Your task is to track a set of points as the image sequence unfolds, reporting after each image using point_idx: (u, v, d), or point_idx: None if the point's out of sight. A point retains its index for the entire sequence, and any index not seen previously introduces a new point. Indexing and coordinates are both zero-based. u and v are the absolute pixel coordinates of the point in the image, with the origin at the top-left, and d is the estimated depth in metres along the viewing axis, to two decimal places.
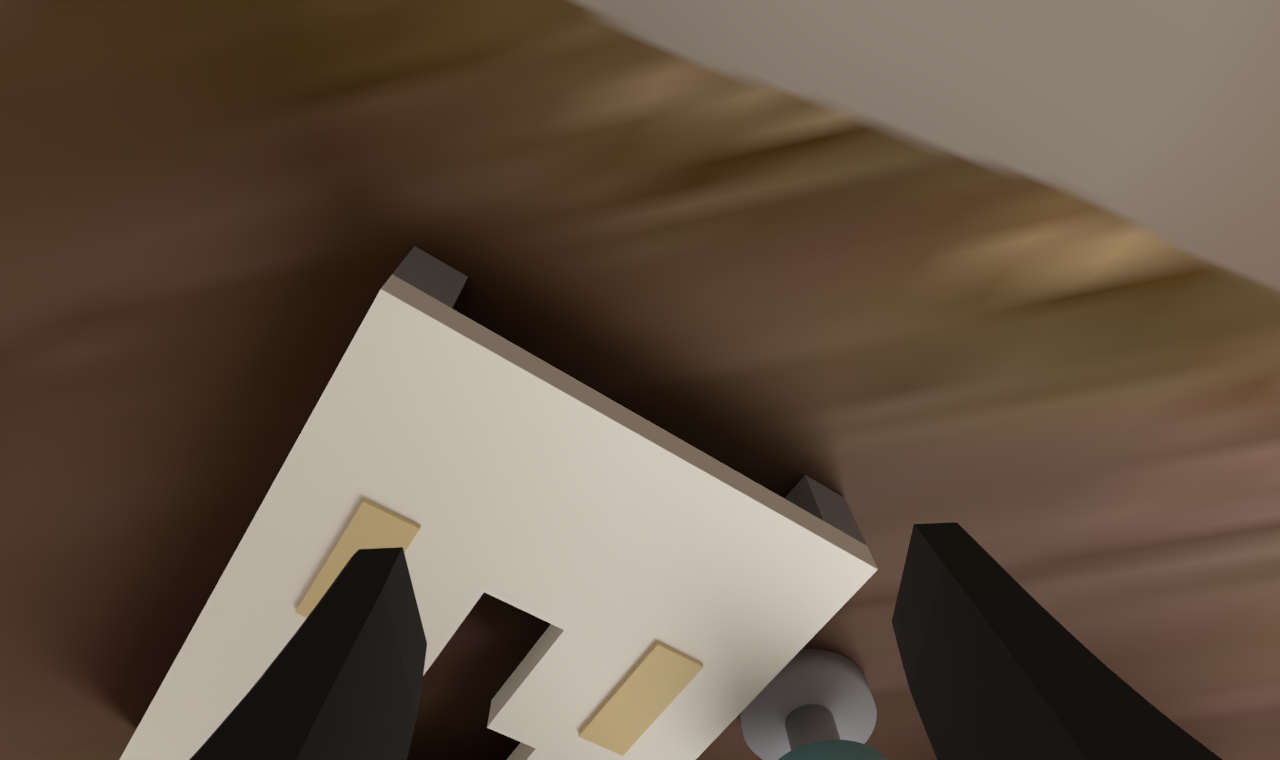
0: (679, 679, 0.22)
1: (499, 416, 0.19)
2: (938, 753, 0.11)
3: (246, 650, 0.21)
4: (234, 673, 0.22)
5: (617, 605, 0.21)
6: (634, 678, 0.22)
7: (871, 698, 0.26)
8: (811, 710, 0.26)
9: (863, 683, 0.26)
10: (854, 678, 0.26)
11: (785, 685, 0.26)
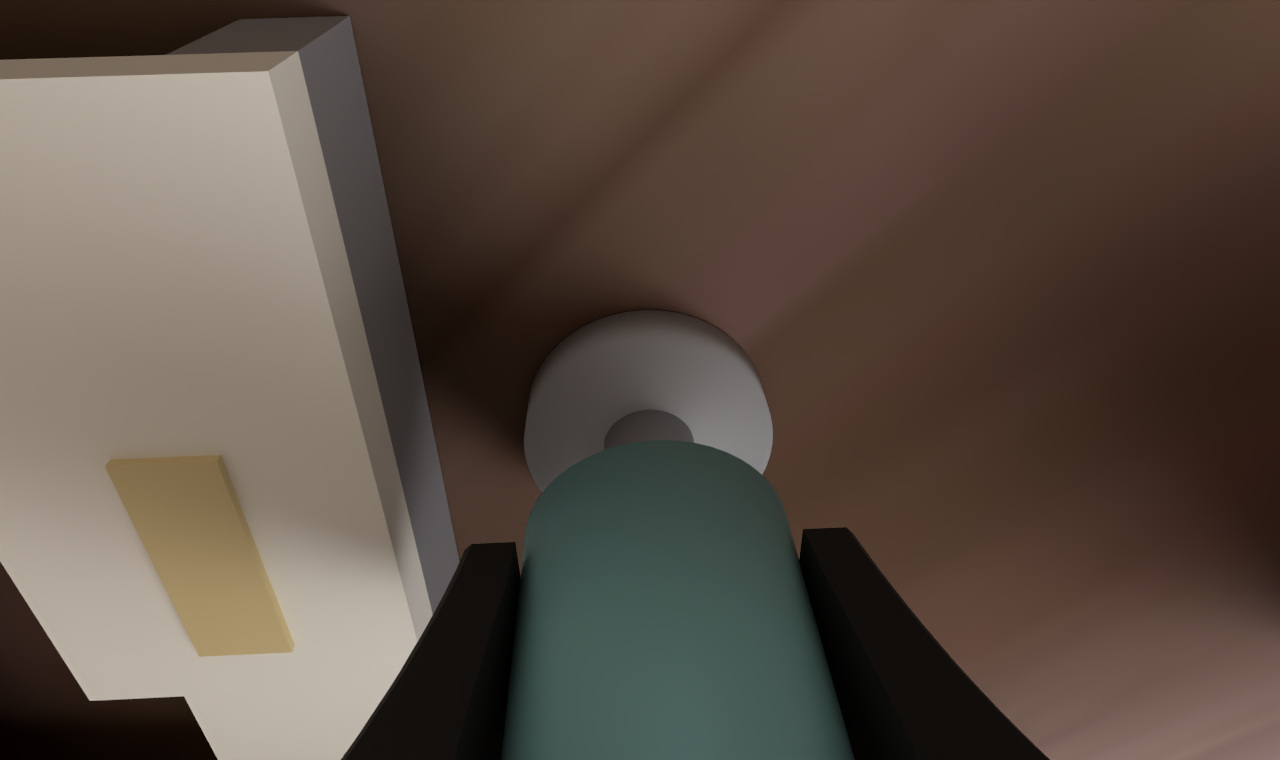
0: (212, 501, 0.11)
1: None
2: None
3: None
4: None
5: None
6: (151, 536, 0.12)
7: (711, 353, 0.13)
8: (620, 427, 0.14)
9: (683, 336, 0.13)
10: (653, 336, 0.13)
11: (550, 409, 0.14)
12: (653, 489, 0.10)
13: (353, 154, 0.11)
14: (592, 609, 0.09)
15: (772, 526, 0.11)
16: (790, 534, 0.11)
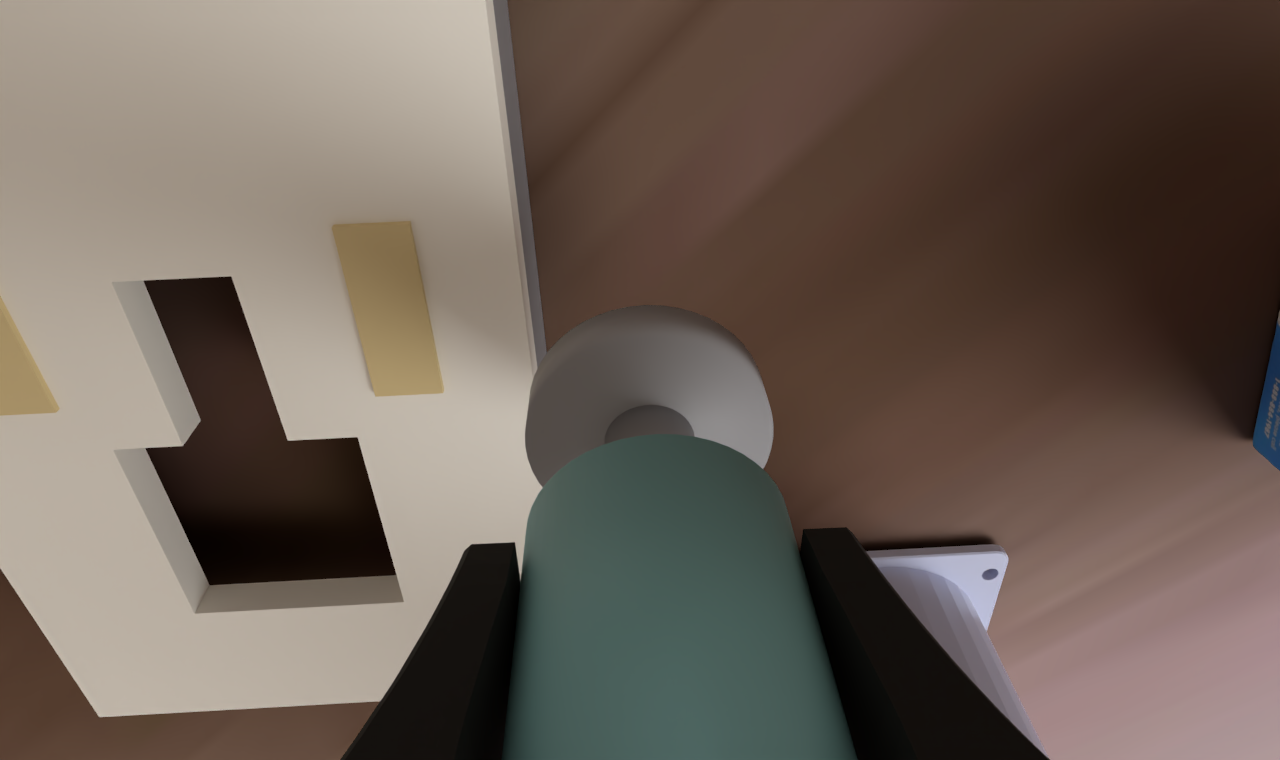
0: (402, 258, 0.16)
1: None
2: None
3: (8, 482, 0.19)
4: (28, 512, 0.20)
5: (246, 206, 0.16)
6: (355, 288, 0.16)
7: (712, 348, 0.13)
8: (621, 422, 0.14)
9: (684, 331, 0.13)
10: (654, 331, 0.13)
11: (551, 404, 0.14)
12: (654, 482, 0.10)
13: (501, 8, 0.16)
14: (593, 601, 0.09)
15: (773, 520, 0.11)
16: (791, 528, 0.11)
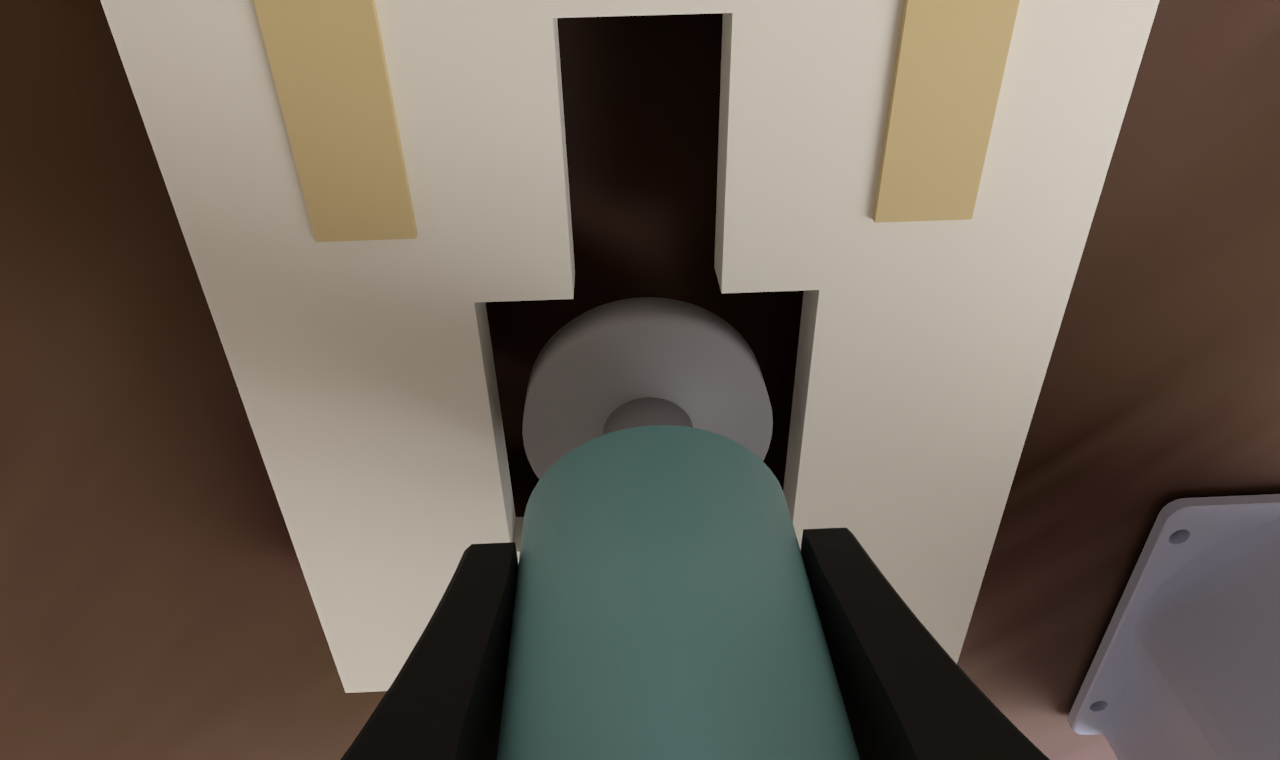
0: None
1: None
2: None
3: (314, 351, 0.13)
4: (330, 397, 0.14)
5: None
6: (913, 37, 0.11)
7: (718, 343, 0.13)
8: (621, 413, 0.14)
9: (690, 324, 0.13)
10: (661, 322, 0.13)
11: (552, 392, 0.14)
12: (662, 472, 0.10)
13: None
14: (600, 589, 0.09)
15: (778, 516, 0.11)
16: (793, 526, 0.11)
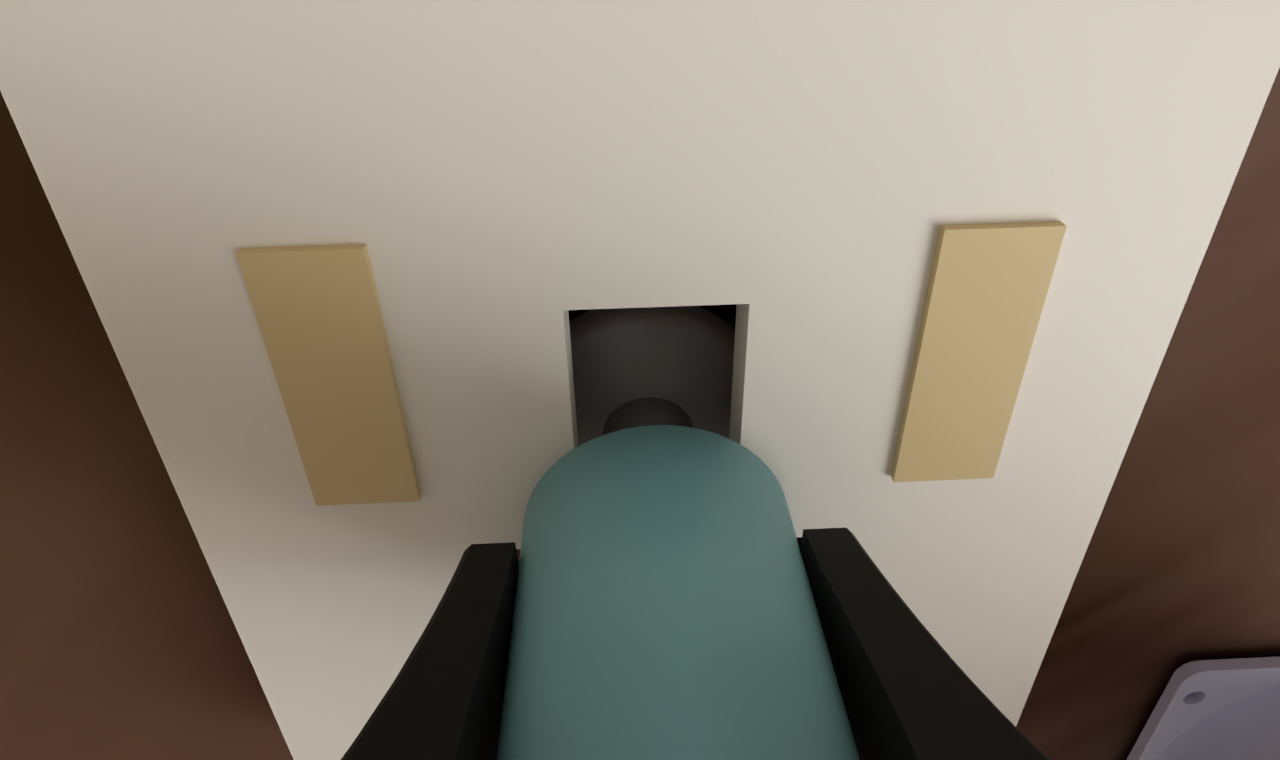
0: (1028, 280, 0.10)
1: None
2: None
3: (314, 594, 0.13)
4: (330, 632, 0.14)
5: (818, 193, 0.10)
6: (936, 325, 0.11)
7: (718, 343, 0.13)
8: (621, 413, 0.14)
9: (690, 324, 0.13)
10: (661, 323, 0.13)
11: None
12: (662, 473, 0.10)
13: None
14: (600, 588, 0.09)
15: (777, 516, 0.11)
16: None
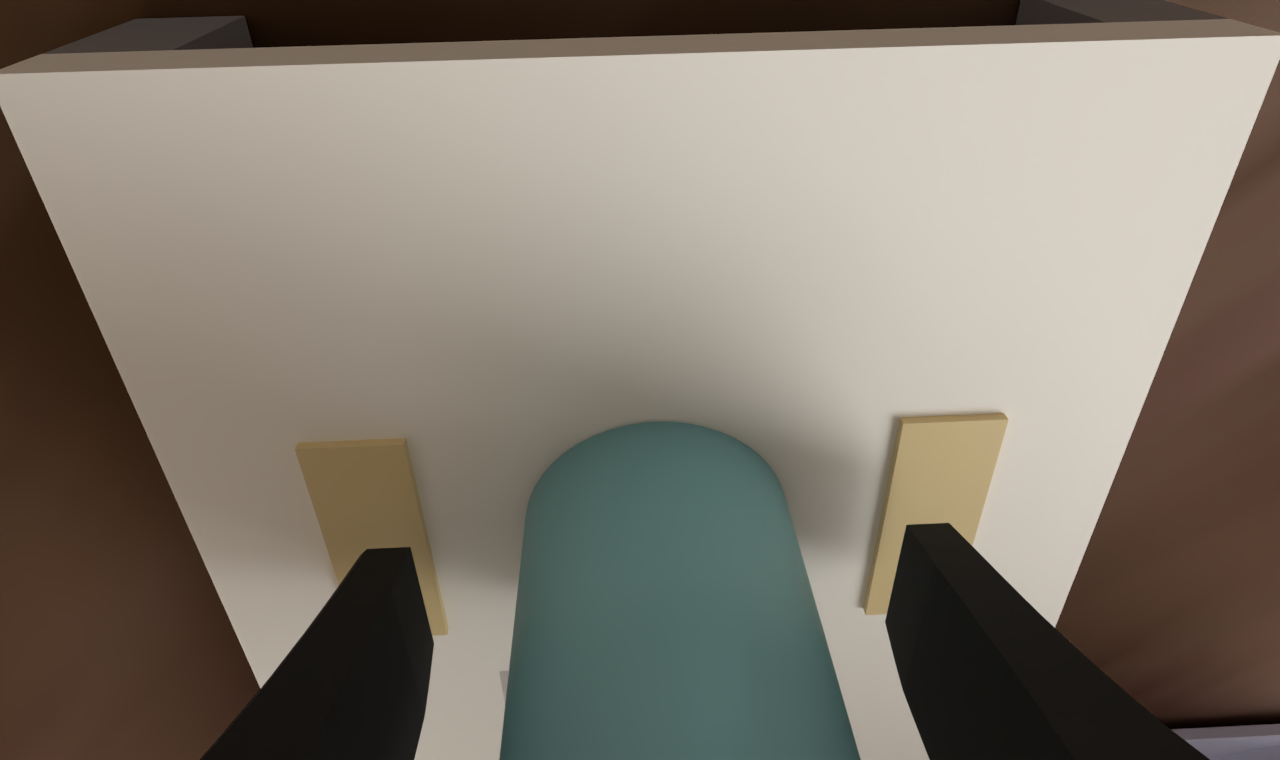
0: (977, 459, 0.12)
1: (359, 184, 0.09)
2: (930, 753, 0.11)
3: None
4: None
5: (793, 396, 0.11)
6: (898, 494, 0.12)
7: None
8: None
9: None
10: None
11: None
12: (663, 468, 0.10)
13: None
14: (603, 582, 0.09)
15: (777, 512, 0.11)
16: None
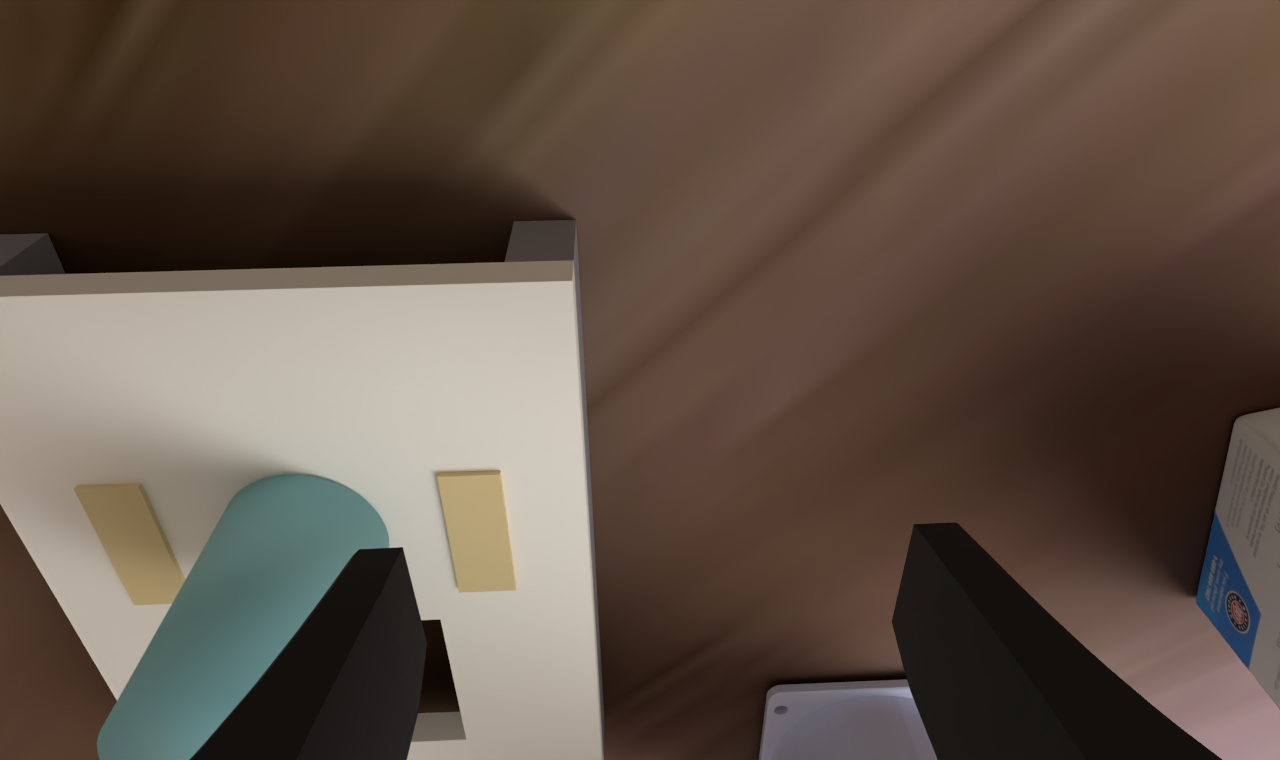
0: (491, 497, 0.20)
1: (87, 350, 0.17)
2: (938, 753, 0.11)
3: (142, 651, 0.22)
4: None
5: (368, 460, 0.19)
6: (451, 517, 0.20)
7: None
8: None
9: None
10: None
11: None
12: (275, 504, 0.18)
13: (578, 299, 0.19)
14: (210, 566, 0.17)
15: (349, 529, 0.19)
16: (371, 534, 0.19)
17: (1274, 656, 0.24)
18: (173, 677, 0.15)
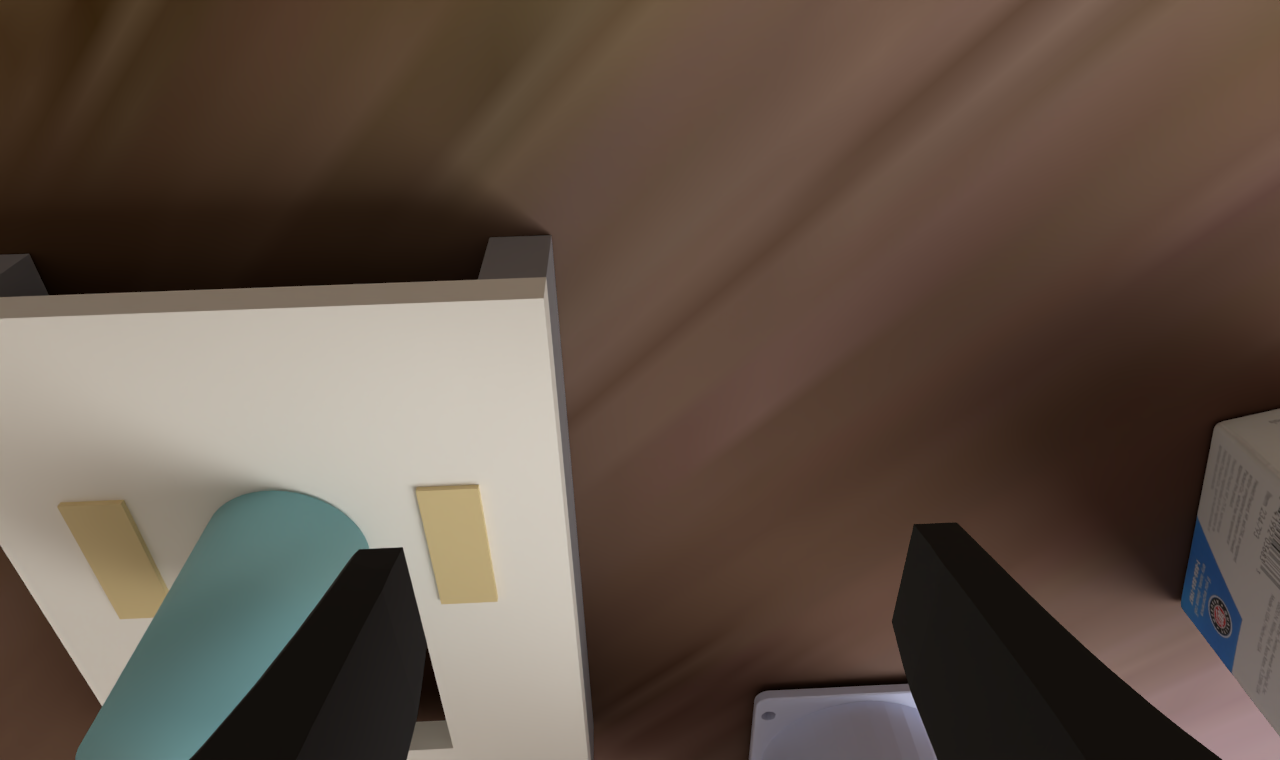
0: (470, 510, 0.20)
1: (66, 371, 0.17)
2: (939, 753, 0.11)
3: None
4: None
5: (347, 475, 0.19)
6: (431, 531, 0.20)
7: None
8: None
9: None
10: None
11: None
12: (255, 520, 0.19)
13: (554, 314, 0.20)
14: (189, 583, 0.17)
15: (328, 544, 0.19)
16: (351, 548, 0.20)
17: (1255, 661, 0.24)
18: (149, 694, 0.15)
